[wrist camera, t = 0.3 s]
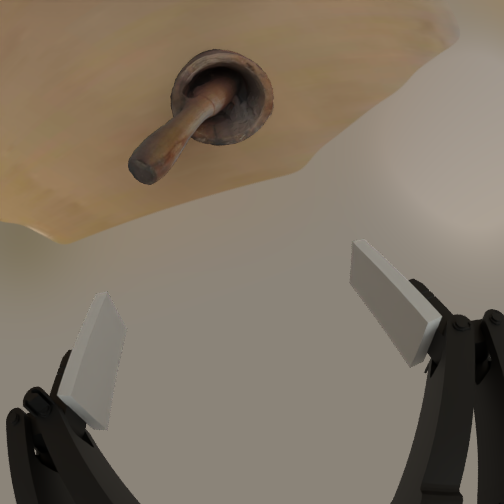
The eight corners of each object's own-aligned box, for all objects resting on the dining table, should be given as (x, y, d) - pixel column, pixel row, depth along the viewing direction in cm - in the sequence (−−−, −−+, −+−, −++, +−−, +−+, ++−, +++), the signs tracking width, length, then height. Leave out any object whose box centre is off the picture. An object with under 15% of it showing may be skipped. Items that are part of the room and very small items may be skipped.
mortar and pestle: (196, 134, 34) (204, 232, 21) (147, 97, 29) (108, 172, 16) (260, 76, 30) (325, 131, 17) (213, 32, 25) (237, 33, 11)
